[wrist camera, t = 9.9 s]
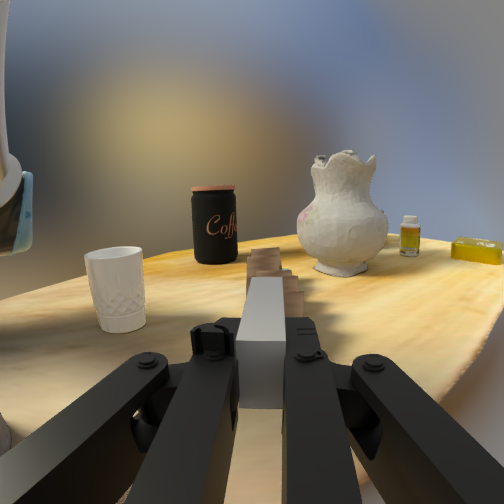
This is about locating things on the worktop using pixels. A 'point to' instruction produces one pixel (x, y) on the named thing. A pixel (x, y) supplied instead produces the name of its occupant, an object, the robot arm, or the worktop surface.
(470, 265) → the worktop surface
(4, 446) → the pillar candle
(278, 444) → the worktop surface
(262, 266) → the domino
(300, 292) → the domino
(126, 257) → the white cup
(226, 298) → the worktop surface
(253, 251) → the domino
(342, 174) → the ceramic pitcher
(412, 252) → the supplement bottle
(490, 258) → the element tile
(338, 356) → the worktop surface
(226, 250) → the coffee jar
